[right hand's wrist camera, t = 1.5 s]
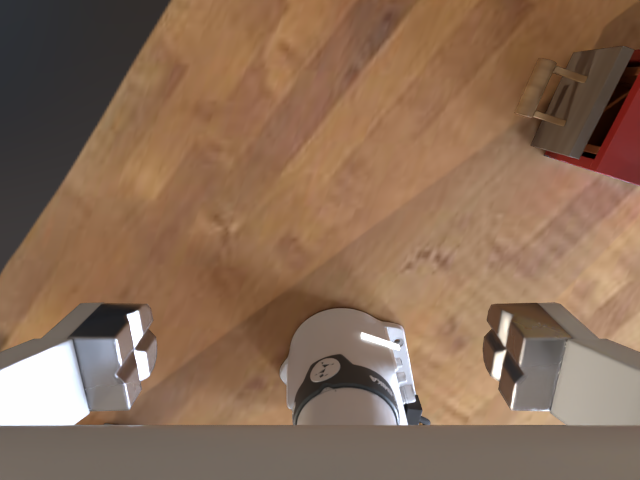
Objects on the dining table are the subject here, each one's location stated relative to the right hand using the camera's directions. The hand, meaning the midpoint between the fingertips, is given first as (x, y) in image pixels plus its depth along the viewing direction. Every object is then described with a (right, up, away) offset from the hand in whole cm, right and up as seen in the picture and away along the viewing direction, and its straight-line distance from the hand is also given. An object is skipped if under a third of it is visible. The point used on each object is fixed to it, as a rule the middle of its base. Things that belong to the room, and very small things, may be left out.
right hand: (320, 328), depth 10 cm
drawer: (+31, +16, +37) cm, 51 cm away
